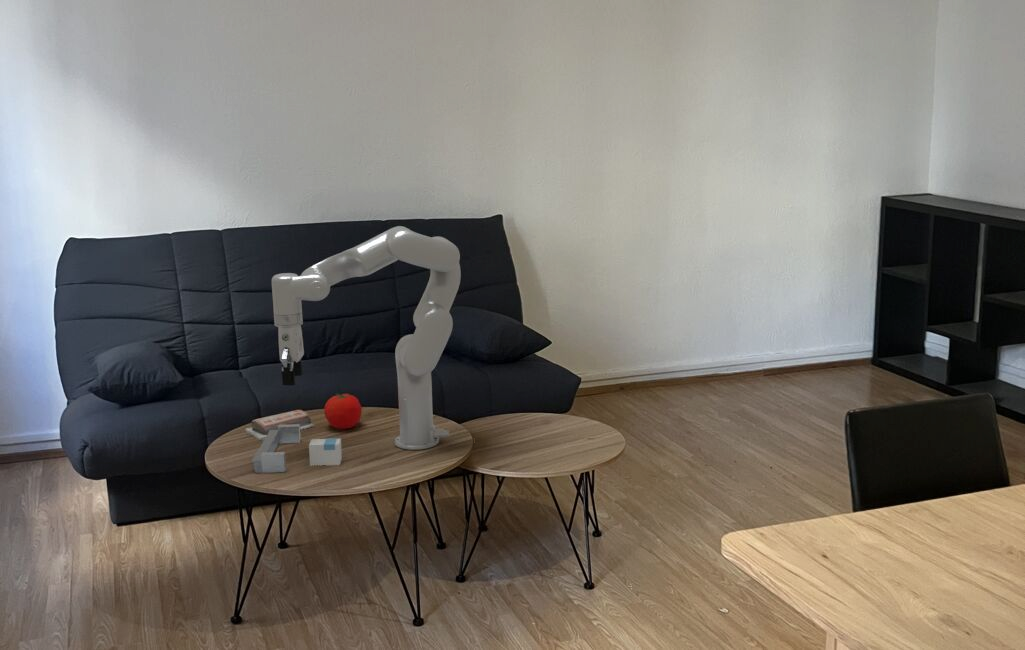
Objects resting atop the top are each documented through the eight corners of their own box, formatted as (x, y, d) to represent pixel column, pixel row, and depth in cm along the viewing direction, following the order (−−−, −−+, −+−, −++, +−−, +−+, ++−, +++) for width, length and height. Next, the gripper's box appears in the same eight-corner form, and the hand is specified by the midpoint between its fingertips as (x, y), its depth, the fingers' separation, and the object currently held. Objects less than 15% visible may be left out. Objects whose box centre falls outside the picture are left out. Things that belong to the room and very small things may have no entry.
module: (342, 459, 299) (340, 438, 297) (339, 465, 294) (338, 444, 292) (312, 459, 299) (311, 438, 297) (310, 466, 294) (308, 444, 292)
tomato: (367, 420, 332) (365, 388, 330) (356, 434, 320) (355, 400, 317) (331, 420, 333) (329, 388, 331) (319, 433, 321) (317, 400, 319)
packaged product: (297, 406, 333) (314, 413, 326) (298, 421, 334) (314, 428, 327) (243, 418, 322) (259, 426, 315) (245, 433, 323) (260, 441, 316)
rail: (300, 440, 314) (299, 424, 313) (284, 472, 289) (283, 454, 288) (271, 441, 314) (269, 425, 313) (252, 473, 289) (251, 455, 288)
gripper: (295, 326, 284) (300, 388, 288) (308, 312, 301) (312, 371, 305) (267, 326, 285) (272, 389, 288) (281, 312, 301) (285, 372, 305)
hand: (292, 380), depth 297 cm, fingers open, 9 cm apart
